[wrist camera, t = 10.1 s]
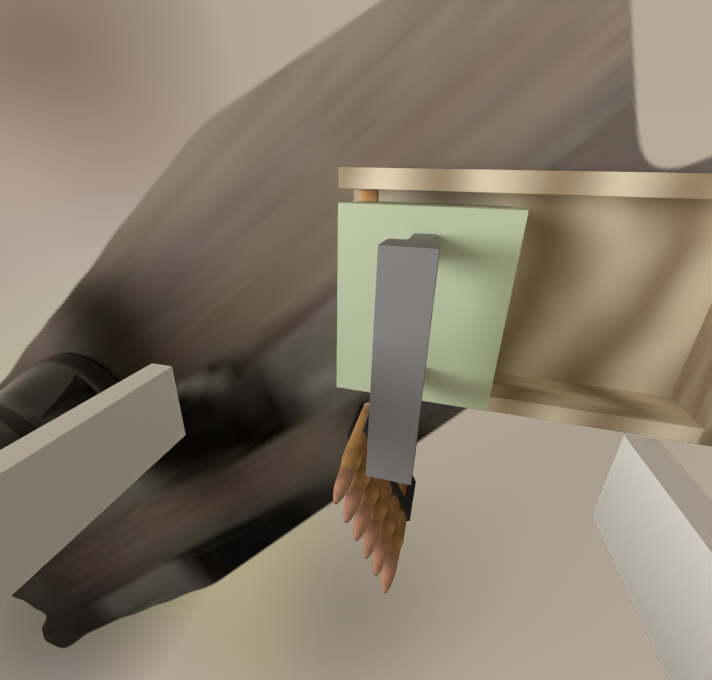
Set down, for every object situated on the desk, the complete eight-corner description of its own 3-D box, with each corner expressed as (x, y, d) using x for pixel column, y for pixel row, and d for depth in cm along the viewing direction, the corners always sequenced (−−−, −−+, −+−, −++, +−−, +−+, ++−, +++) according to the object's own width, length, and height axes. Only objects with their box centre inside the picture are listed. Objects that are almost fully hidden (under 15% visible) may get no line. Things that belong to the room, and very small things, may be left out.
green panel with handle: (360, 347, 31) (283, 474, 17) (365, 200, 26) (266, 207, 12) (479, 363, 28) (504, 523, 15) (508, 206, 24) (587, 222, 10)
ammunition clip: (359, 401, 35) (318, 494, 24) (376, 397, 34) (341, 491, 23) (399, 484, 37) (378, 601, 27) (415, 482, 37) (401, 601, 26)
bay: (352, 359, 33) (336, 386, 28) (358, 172, 27) (338, 167, 22) (673, 404, 27) (718, 447, 23) (775, 180, 21) (867, 176, 16)
